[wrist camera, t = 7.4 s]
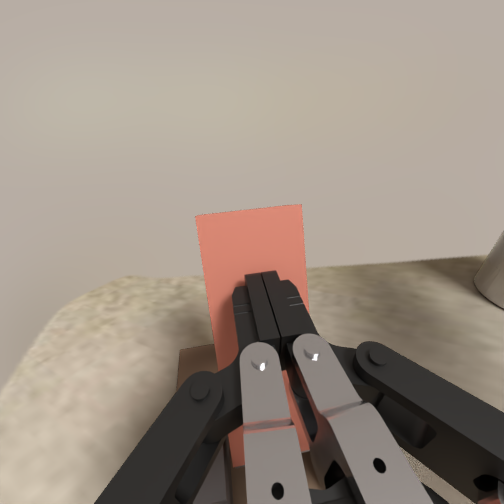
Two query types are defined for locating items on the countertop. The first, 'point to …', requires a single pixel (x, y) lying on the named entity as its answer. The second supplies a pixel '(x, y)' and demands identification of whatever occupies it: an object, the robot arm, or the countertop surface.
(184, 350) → the switch board
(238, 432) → the lever
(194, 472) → the robot arm
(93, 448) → the countertop surface
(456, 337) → the countertop surface
